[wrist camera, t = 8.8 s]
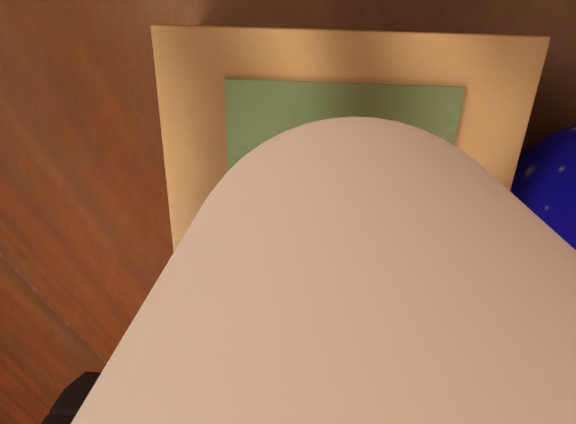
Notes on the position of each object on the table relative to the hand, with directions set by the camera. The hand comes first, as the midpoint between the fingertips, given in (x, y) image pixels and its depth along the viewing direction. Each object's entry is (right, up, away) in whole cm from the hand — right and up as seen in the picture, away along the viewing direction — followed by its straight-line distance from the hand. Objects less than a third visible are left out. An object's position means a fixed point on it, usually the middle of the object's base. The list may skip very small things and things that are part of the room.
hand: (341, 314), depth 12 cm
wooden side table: (+1, +7, +14) cm, 16 cm away
